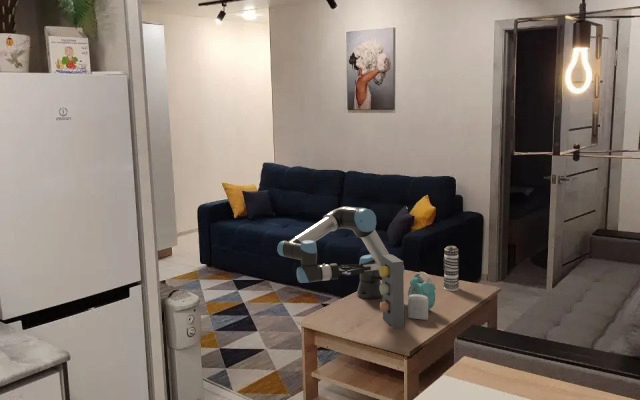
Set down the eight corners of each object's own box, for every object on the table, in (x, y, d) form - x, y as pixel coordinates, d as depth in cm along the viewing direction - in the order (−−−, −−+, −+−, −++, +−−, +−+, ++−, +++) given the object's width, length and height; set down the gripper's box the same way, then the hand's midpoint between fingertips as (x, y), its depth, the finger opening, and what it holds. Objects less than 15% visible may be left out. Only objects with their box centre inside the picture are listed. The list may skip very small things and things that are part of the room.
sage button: (387, 291, 298) (386, 282, 297) (390, 294, 293) (390, 285, 292) (379, 292, 297) (379, 283, 296) (383, 295, 292) (383, 285, 291)
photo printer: (429, 317, 304) (429, 294, 302) (427, 320, 300) (427, 296, 298) (409, 315, 308) (408, 292, 306) (407, 318, 304) (406, 295, 302)
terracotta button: (387, 309, 299) (387, 299, 298) (391, 312, 294) (391, 302, 294) (379, 310, 298) (379, 300, 297) (383, 313, 293) (383, 303, 293)
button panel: (393, 317, 306) (392, 254, 300) (404, 327, 292) (403, 261, 287) (382, 318, 304) (381, 255, 299) (393, 328, 291) (392, 262, 286)
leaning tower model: (462, 288, 347) (463, 246, 343) (451, 292, 342) (451, 249, 338) (451, 285, 355) (451, 244, 351) (440, 288, 350) (439, 246, 346)
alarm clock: (405, 306, 322) (404, 270, 319) (420, 303, 326) (420, 267, 322) (423, 316, 306) (422, 278, 303) (438, 313, 310) (438, 275, 307)
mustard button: (386, 274, 296) (386, 264, 295) (390, 277, 292) (390, 267, 291) (379, 275, 295) (378, 265, 294) (382, 277, 290) (382, 267, 290)
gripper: (333, 267, 277) (381, 262, 284) (325, 260, 290) (371, 256, 296) (333, 283, 279) (381, 277, 285) (325, 275, 291) (371, 270, 297)
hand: (376, 266), depth 290 cm, fingers closed
